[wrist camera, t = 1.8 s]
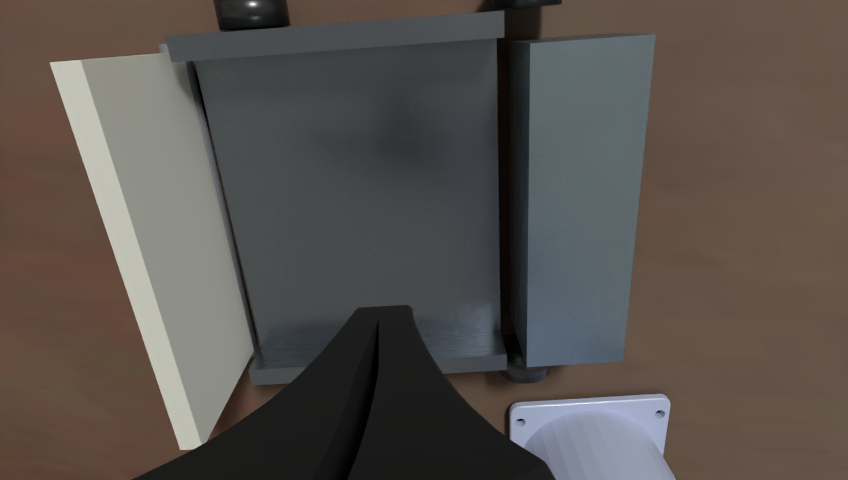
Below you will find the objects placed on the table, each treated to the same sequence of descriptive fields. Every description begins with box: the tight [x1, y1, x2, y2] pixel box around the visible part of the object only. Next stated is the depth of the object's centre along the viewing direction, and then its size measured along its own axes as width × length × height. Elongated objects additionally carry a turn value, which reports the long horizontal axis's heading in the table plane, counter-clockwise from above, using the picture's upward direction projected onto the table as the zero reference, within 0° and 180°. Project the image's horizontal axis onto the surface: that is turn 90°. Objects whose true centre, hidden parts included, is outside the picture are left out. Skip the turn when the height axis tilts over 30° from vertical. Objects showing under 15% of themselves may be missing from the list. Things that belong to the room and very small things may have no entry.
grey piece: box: [165, 0, 656, 386], centre depth 19 cm, size 16×16×4 cm
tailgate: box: [50, 44, 259, 450], centre depth 18 cm, size 14×1×7 cm, turn 4°
